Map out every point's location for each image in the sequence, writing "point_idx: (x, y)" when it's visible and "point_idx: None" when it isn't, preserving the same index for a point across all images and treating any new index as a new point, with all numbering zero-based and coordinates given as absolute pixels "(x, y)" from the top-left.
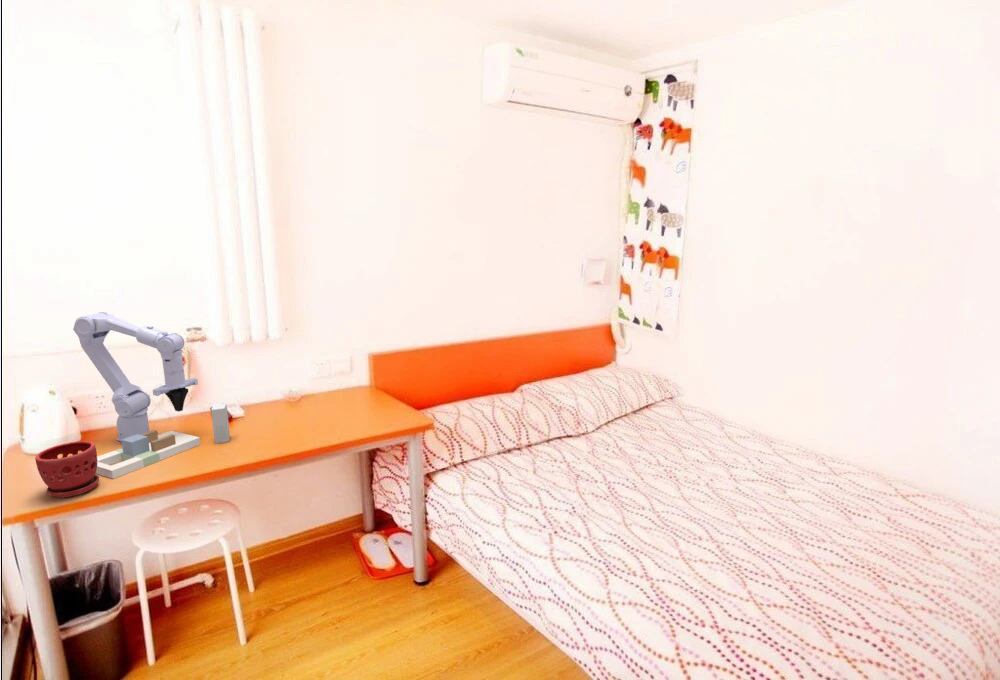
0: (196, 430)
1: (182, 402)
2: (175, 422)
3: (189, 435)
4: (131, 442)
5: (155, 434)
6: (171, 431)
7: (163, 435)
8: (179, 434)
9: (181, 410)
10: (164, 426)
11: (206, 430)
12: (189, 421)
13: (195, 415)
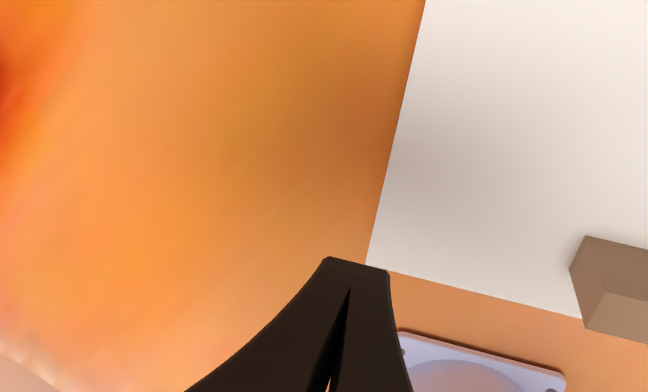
0: (196, 159)
1: (302, 340)
2: (158, 365)
3: (432, 18)
4: None
5: (622, 276)
6: (382, 252)
7: (482, 254)
8: (430, 139)
9: (349, 263)
10: None
11: (162, 82)
12: (107, 306)
13: (28, 331)
